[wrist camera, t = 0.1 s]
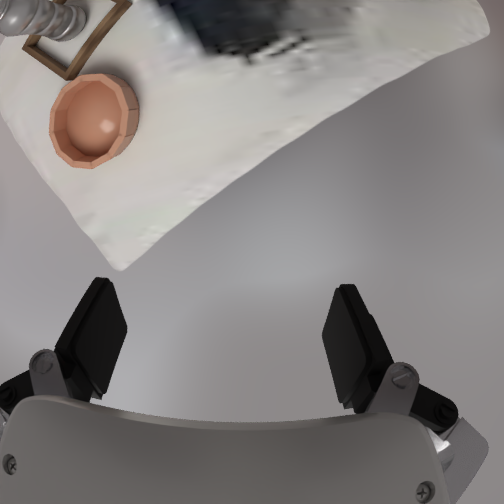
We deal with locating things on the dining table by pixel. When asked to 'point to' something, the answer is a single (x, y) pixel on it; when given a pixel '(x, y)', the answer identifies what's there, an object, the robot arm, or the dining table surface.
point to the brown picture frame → (86, 48)
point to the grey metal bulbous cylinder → (41, 19)
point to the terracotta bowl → (93, 120)
